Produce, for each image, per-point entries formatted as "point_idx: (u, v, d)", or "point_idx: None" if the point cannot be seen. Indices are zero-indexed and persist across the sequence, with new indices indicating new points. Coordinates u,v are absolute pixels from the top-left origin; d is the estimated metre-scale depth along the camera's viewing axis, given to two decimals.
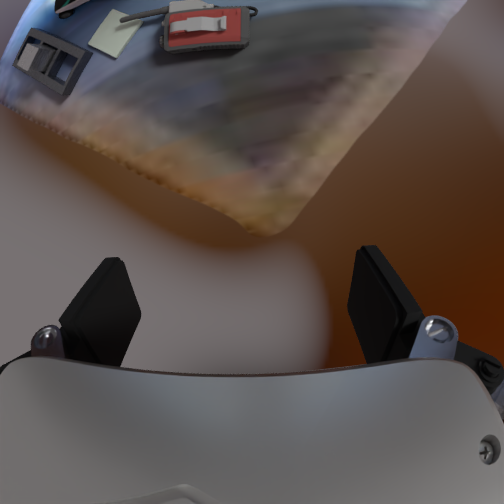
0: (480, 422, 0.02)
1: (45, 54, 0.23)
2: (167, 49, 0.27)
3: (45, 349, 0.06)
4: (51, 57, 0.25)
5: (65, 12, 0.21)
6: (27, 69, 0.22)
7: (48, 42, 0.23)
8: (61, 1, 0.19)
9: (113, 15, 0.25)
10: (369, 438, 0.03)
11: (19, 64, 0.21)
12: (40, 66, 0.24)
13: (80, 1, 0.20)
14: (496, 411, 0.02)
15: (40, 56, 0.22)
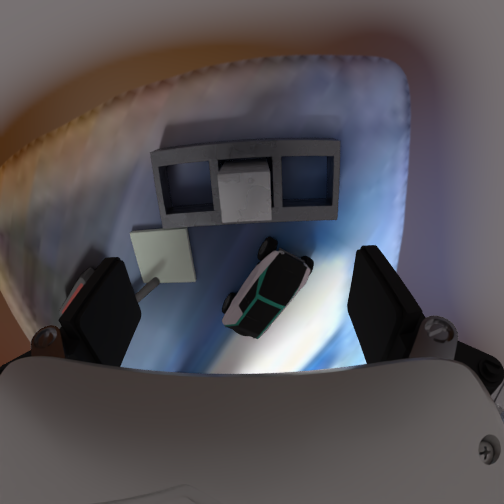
0: (480, 422, 0.02)
1: None
2: (80, 279, 0.30)
3: (45, 349, 0.06)
4: None
5: (261, 256, 0.29)
6: (221, 177, 0.20)
7: None
8: (278, 275, 0.28)
9: (184, 275, 0.32)
10: (369, 438, 0.03)
11: (260, 175, 0.20)
12: None
13: (246, 286, 0.30)
14: (496, 411, 0.02)
15: None
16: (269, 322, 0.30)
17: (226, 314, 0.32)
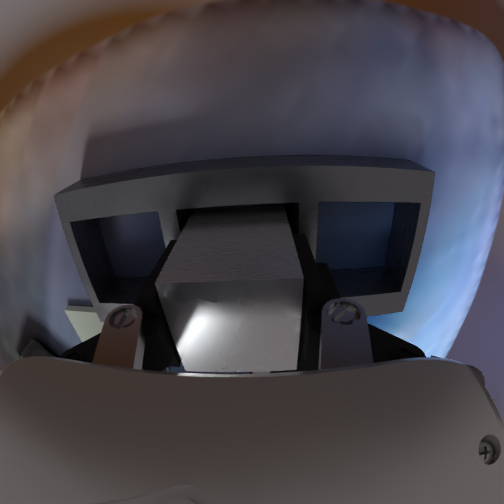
0: (480, 422, 0.02)
1: None
2: None
3: (118, 330, 0.07)
4: None
5: None
6: (167, 289, 0.07)
7: None
8: None
9: None
10: (369, 438, 0.03)
11: (275, 288, 0.07)
12: None
13: None
14: (496, 411, 0.02)
15: None
16: None
17: None
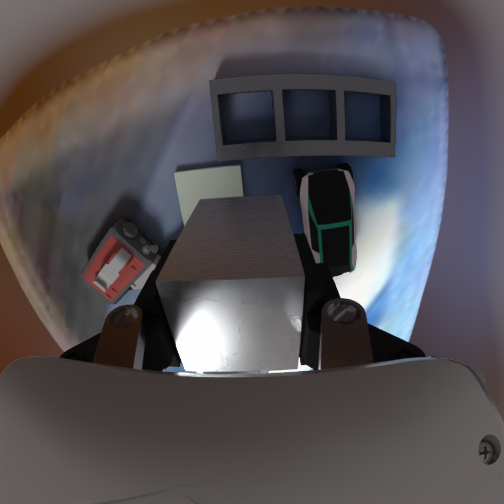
0: (480, 422, 0.02)
1: None
2: (111, 230, 0.28)
3: (118, 330, 0.07)
4: None
5: None
6: (167, 288, 0.07)
7: (322, 142, 0.24)
8: (322, 195, 0.25)
9: None
10: (369, 438, 0.03)
11: (276, 287, 0.07)
12: None
13: (305, 227, 0.28)
14: (496, 411, 0.02)
15: None
16: (349, 245, 0.26)
17: None
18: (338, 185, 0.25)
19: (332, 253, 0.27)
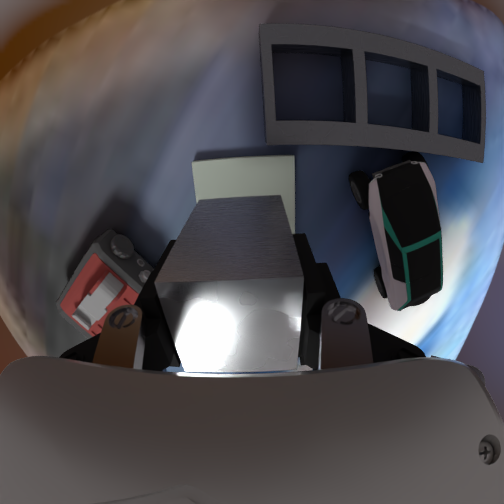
0: (480, 422, 0.02)
1: None
2: (94, 246, 0.18)
3: (118, 330, 0.07)
4: None
5: None
6: (166, 289, 0.07)
7: (412, 132, 0.15)
8: (401, 204, 0.16)
9: None
10: (369, 438, 0.03)
11: (275, 288, 0.07)
12: None
13: (381, 250, 0.18)
14: (496, 411, 0.02)
15: None
16: (440, 264, 0.16)
17: (389, 298, 0.20)
18: (417, 185, 0.15)
19: (421, 279, 0.17)
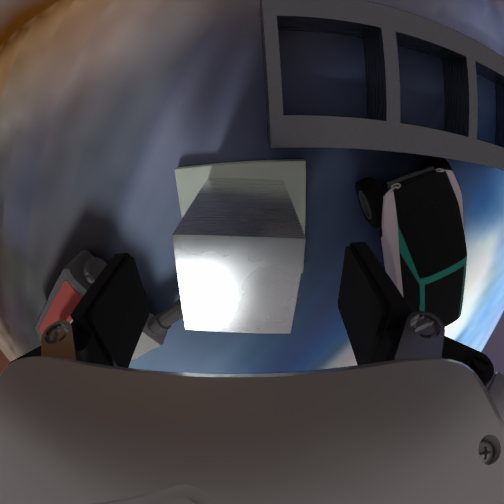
0: (480, 422, 0.02)
1: None
2: (64, 272, 0.14)
3: (55, 345, 0.06)
4: None
5: None
6: (183, 241, 0.08)
7: (450, 136, 0.11)
8: (422, 224, 0.12)
9: None
10: (369, 438, 0.03)
11: (280, 247, 0.08)
12: None
13: (392, 278, 0.15)
14: (496, 411, 0.02)
15: None
16: (461, 294, 0.13)
17: None
18: (443, 199, 0.11)
19: (438, 313, 0.13)
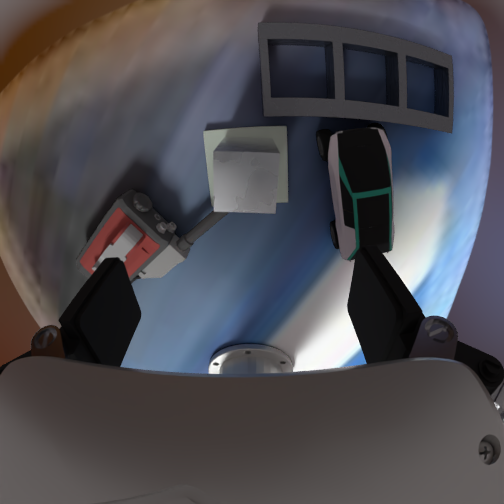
0: (480, 422, 0.02)
1: None
2: (118, 201, 0.22)
3: (45, 349, 0.06)
4: None
5: None
6: (218, 155, 0.16)
7: (383, 107, 0.18)
8: (356, 157, 0.19)
9: None
10: (369, 438, 0.03)
11: (267, 157, 0.16)
12: None
13: (336, 198, 0.22)
14: (496, 411, 0.02)
15: None
16: (389, 218, 0.21)
17: (340, 246, 0.24)
18: (373, 145, 0.19)
19: (370, 228, 0.21)
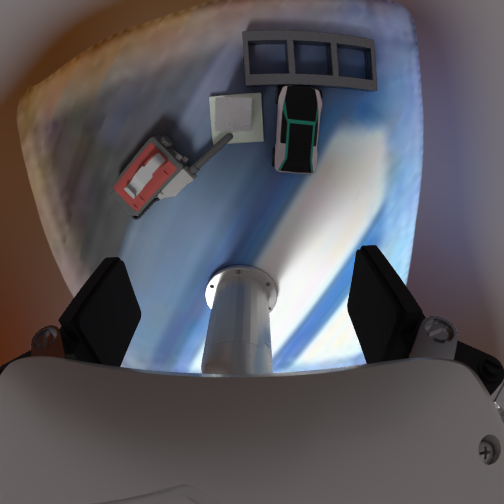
0: (480, 422, 0.02)
1: None
2: (151, 138, 0.33)
3: (45, 349, 0.06)
4: None
5: (278, 98, 0.31)
6: (218, 99, 0.26)
7: (322, 76, 0.29)
8: (295, 100, 0.30)
9: (254, 135, 0.35)
10: (369, 438, 0.03)
11: (244, 100, 0.27)
12: None
13: (278, 125, 0.32)
14: (496, 411, 0.02)
15: None
16: (311, 143, 0.31)
17: (275, 159, 0.34)
18: (309, 97, 0.30)
19: (296, 145, 0.31)
